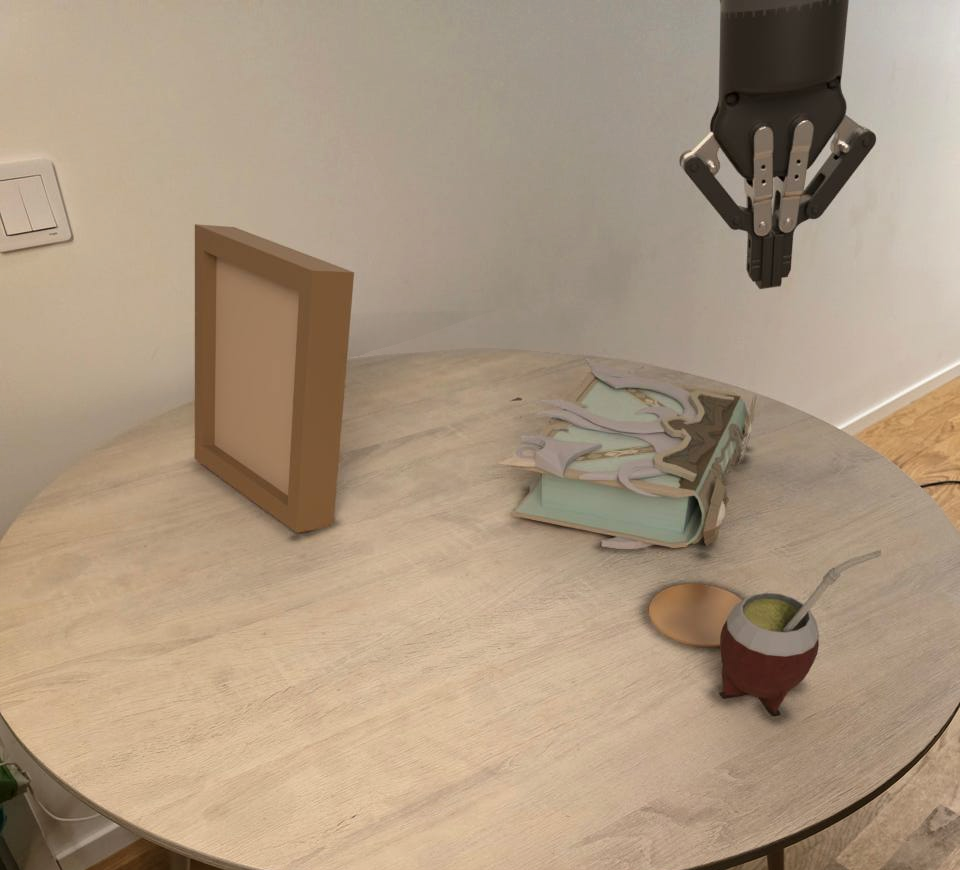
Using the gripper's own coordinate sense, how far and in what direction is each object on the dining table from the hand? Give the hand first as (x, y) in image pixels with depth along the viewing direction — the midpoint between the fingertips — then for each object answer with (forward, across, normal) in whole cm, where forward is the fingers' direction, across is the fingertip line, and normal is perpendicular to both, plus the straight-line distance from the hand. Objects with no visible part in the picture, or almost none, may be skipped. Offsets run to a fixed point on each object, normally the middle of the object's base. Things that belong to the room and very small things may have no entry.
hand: (767, 284), depth 65 cm
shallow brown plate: (+27, -5, -4) cm, 28 cm away
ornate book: (+26, -8, +20) cm, 34 cm away
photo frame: (+22, -45, +21) cm, 54 cm away
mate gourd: (+27, -2, -14) cm, 31 cm away
